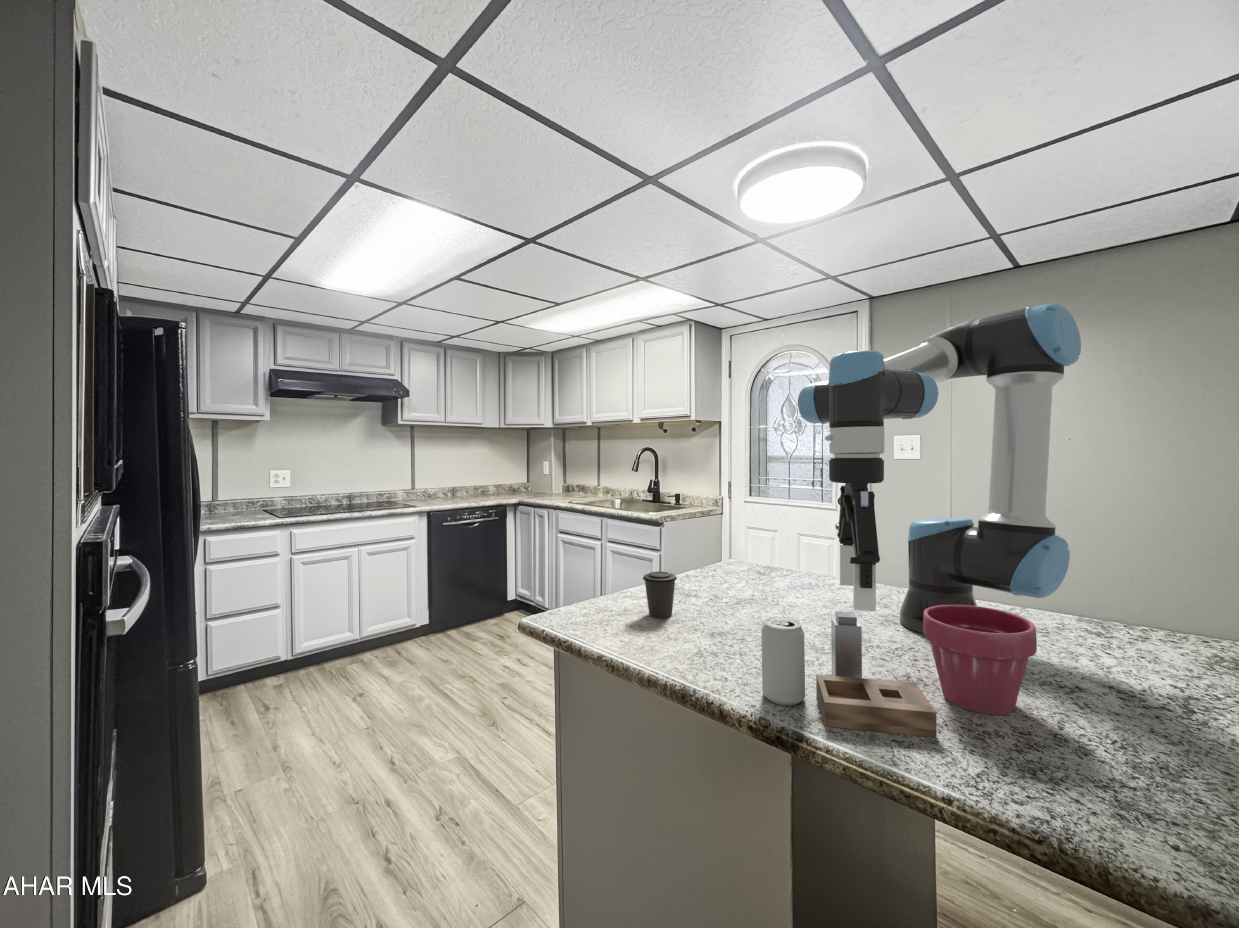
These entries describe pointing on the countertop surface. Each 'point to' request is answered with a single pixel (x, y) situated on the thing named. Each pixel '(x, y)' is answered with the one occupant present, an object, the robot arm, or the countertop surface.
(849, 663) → the grey square peg
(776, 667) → the beverage can
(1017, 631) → the plant pot
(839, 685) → the socket block
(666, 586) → the coffee cup
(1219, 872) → the countertop surface
